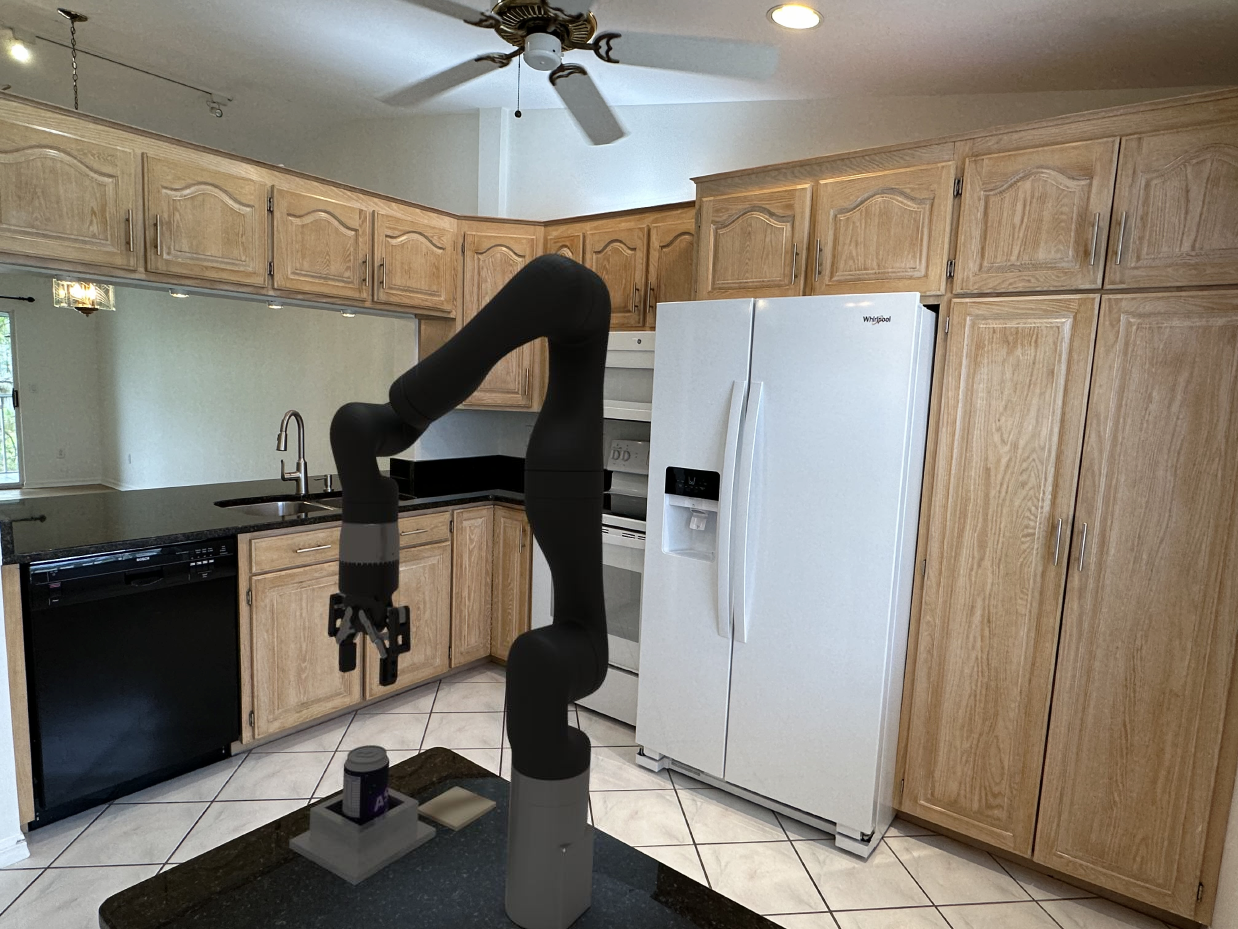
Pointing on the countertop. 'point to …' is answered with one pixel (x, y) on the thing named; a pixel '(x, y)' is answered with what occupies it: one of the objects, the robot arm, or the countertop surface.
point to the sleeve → (362, 837)
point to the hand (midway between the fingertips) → (367, 677)
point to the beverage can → (365, 784)
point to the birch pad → (456, 808)
